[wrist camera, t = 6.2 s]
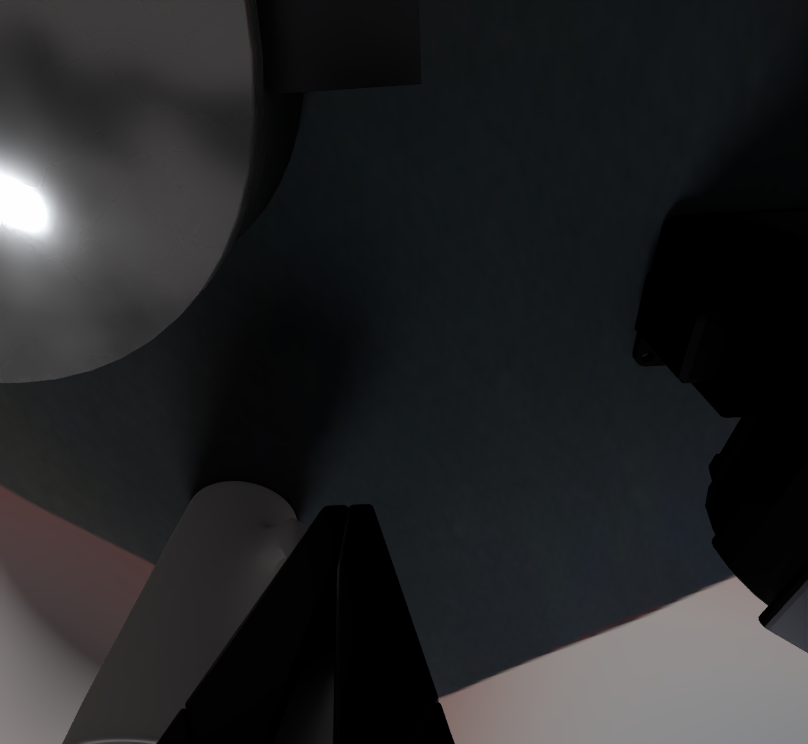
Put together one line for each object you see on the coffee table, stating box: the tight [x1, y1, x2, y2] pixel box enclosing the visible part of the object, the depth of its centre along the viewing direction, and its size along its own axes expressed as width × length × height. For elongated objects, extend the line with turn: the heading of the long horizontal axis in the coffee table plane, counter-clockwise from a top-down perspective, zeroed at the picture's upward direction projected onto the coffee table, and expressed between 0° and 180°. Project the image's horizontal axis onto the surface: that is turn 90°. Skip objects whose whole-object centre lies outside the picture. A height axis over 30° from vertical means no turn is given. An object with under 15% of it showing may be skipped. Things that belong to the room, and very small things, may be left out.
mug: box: [62, 481, 307, 744], centre depth 22 cm, size 10×7×12 cm, turn 126°
